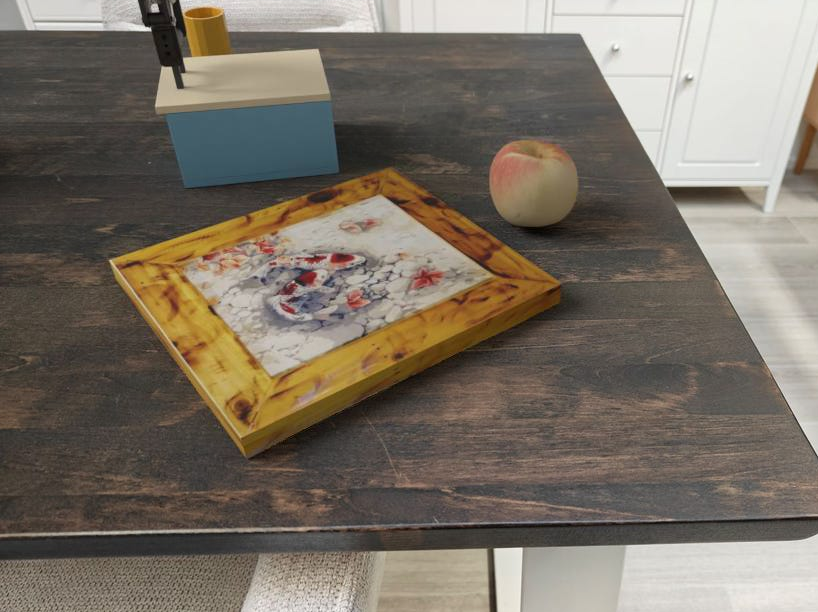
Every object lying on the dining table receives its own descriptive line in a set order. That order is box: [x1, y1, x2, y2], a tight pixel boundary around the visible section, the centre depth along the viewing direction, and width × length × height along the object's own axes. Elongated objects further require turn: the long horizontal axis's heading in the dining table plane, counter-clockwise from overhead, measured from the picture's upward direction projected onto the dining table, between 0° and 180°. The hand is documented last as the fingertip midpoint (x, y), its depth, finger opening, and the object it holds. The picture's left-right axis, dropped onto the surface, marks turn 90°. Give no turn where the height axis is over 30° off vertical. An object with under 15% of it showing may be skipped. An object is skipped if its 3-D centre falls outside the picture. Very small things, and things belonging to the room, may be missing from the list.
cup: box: [182, 6, 234, 57], centre depth 106 cm, size 6×6×7 cm
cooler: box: [165, 100, 340, 189], centre depth 84 cm, size 17×14×8 cm
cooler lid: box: [154, 28, 332, 115], centre depth 80 cm, size 17×14×5 cm
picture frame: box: [108, 166, 563, 460], centre depth 66 cm, size 27×2×30 cm
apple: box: [488, 139, 579, 228], centre depth 74 cm, size 9×9×8 cm
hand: (175, 50), depth 78 cm, fingers open, 8 cm apart
